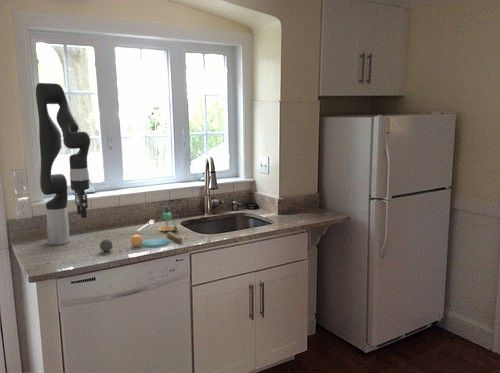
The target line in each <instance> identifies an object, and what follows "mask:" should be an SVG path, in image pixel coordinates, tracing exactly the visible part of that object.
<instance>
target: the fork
mask: <svg viewBox="0 0 500 373" xmlns="http://www.w3.org/2000/svg"><path fill="white" fill-rule="evenodd" d="M148 223H149V224H148ZM154 223H155V220H154V219H150V220H149V221H148V222H147V223H146V224H145V225H143V226H141V227H140V228H139V229H137V230H136V232H140V231H141V230H143V229H144V228H146V227H148V226H150V225H153V224H154Z"/></svg>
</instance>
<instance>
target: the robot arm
mask: <svg viewBox="0 0 500 373" xmlns="http://www.w3.org/2000/svg"><path fill="white" fill-rule="evenodd" d="M35 98H36V99H35V100H36V107H37V114H38V115H37V116H38V136H39V137H38V138H39V140H38V141H39V151H40V152H39V154H40V170H39V172H40V173H39V174H40V177H39V179H40V180H39V186H40V187H39V188H40V190H41V192H42V194H43V195H45V196H50V195H55V196H54V197H53V198H51V199H50V200H49V201H47V202H45V210H46V220H47V221H46V223H47V224H46V231H47V232H46V233H47V243H48V246H49V245H51V246H52V245H53V246H54V245H55V246H59V245H64V244H68V243H69V242H70V239H71V238H70V227H69V215H68V214H69V213H68V181H67V177H66V175H64V174H63V173H57V174H56V173H55V174H52V170H53V169H52V168H53V165H54V162H55V160H56V158H57V157H58V155H59V153H60V151H61V150H62V137H63V145H64V147H66V148H67V149H70V150H71V149H74V150H75V149H78V152H77V153H73V154H71V155H70V156H69V160H68V161H69V180H70V189H71V191H73V193H74V203H75V206H76V210H77V211H76V212H77V215H80V217H81V218H82V219H86V218H88V215H87V214H88V212H87V209H88V208H89V206H88V195H87V193H86V190H89V189H90V177H89V176H90V174H89V173H90V172H89V170H88V169H89V168H88V155H89V149H90V145H91V137H90V135H89V133H88V132H86V131H79V127H80V126H79V124H78V123H77V120H76V119H75V117H74V115H73V114H72V111H71V109H70V105H69V102H68V99H67V96H66V94H65V90H64V88H63V87H62V85H60V83H50V82H49V83H48V82H47V83H45V82H39V83H37V84H36V87H35ZM48 105H58V106H59V108H58V110H57V113H56V122H57V124H58V126H59V127H58V126H57V124H56V123H55V122H54V121H53V119H52V117H51V116H50V113H49V110H48ZM59 128H60V129H59ZM60 130H61V131H60ZM61 132H62V133H61Z"/></svg>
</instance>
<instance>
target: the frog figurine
mask: <svg viewBox="0 0 500 373" xmlns="http://www.w3.org/2000/svg"><path fill="white" fill-rule="evenodd" d="M172 212H173V211H172V209H169V206H168V205H166V206H165V211H164V210H161V212H160V213H161V217H160V218H159V219H158V221H162V220H164V222H165V223H164V225H165V226H159V227H158V231H160V232H172V233H174V234H176V235H177V234H180V232H179V228H178V226H177V225H176V224H175V223H174V225H170V223H169V221H171V220H172V219H173V220H172V222H175V221H176V220H175V217H174V216H173V215H172Z"/></svg>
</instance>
